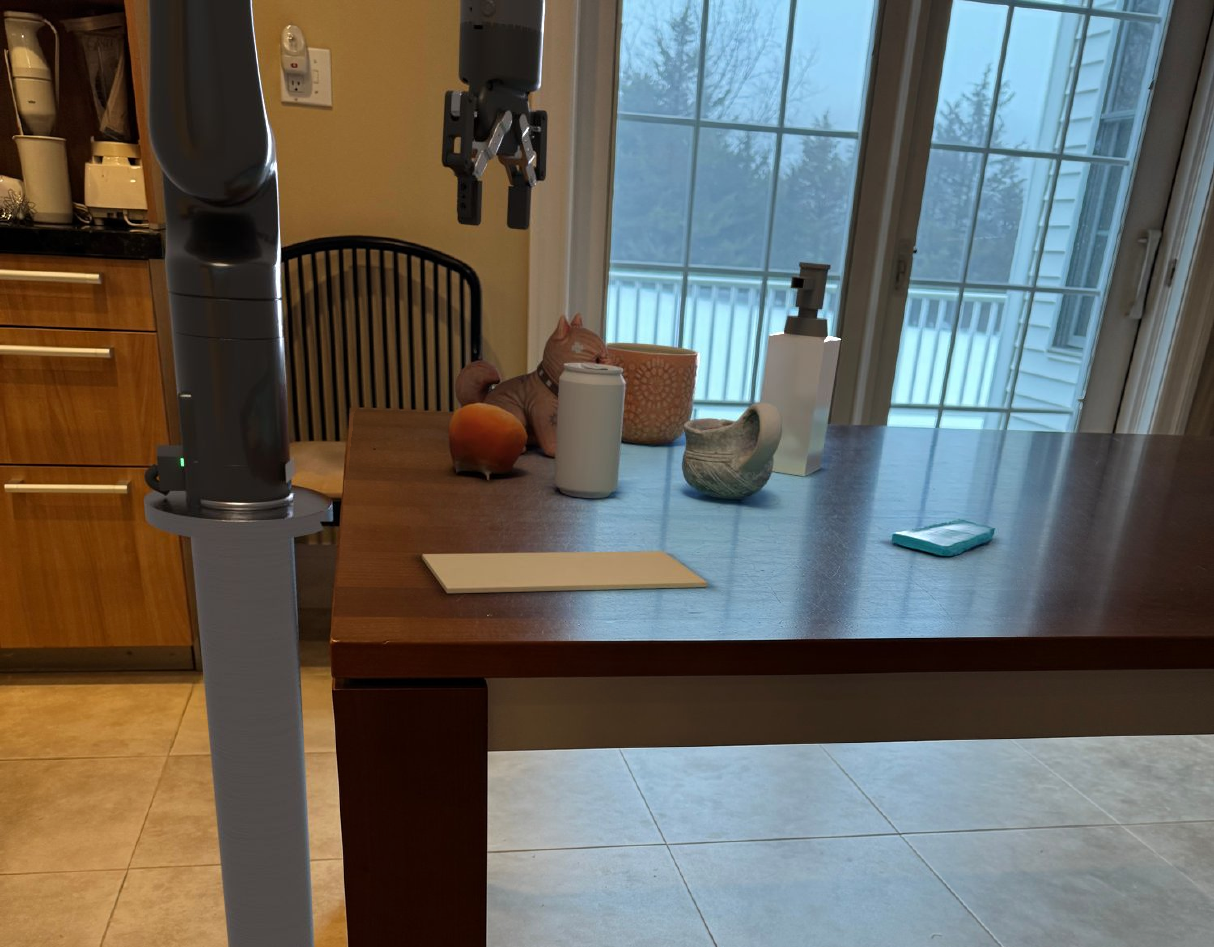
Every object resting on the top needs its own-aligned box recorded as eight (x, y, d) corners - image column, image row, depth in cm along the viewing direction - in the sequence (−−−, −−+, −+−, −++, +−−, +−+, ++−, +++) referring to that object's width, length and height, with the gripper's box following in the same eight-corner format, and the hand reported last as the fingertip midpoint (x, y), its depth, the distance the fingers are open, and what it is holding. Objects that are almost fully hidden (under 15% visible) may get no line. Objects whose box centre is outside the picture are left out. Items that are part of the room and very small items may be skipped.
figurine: (596, 466, 126) (606, 321, 119) (438, 444, 130) (439, 303, 124) (622, 453, 134) (633, 317, 128) (473, 433, 139) (476, 300, 132)
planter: (693, 437, 150) (703, 348, 145) (687, 452, 139) (697, 357, 134) (601, 428, 151) (607, 339, 146) (587, 442, 140) (593, 347, 135)
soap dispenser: (744, 470, 131) (771, 259, 121) (769, 460, 138) (796, 261, 128) (798, 479, 129) (830, 265, 119) (820, 468, 136) (852, 266, 126)
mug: (730, 484, 123) (742, 387, 118) (809, 511, 114) (826, 406, 109) (659, 489, 117) (668, 387, 113) (736, 517, 108) (750, 407, 104)
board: (446, 593, 79) (447, 588, 79) (422, 559, 87) (422, 553, 87) (706, 587, 86) (707, 582, 86) (662, 555, 93) (663, 550, 93)
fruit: (425, 462, 113) (443, 386, 114) (453, 491, 121) (471, 420, 121) (499, 472, 111) (518, 395, 112) (523, 502, 119) (541, 430, 119)
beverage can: (566, 500, 109) (574, 368, 104) (544, 485, 115) (550, 359, 109) (626, 499, 112) (637, 370, 106) (602, 485, 117) (611, 361, 111)
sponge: (1015, 534, 107) (963, 513, 110) (945, 548, 99) (891, 526, 102) (1010, 549, 107) (958, 528, 111) (939, 565, 100) (886, 542, 103)
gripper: (509, 39, 109) (501, 227, 116) (420, 8, 97) (417, 219, 105) (576, 40, 106) (564, 234, 113) (493, 9, 94) (485, 226, 102)
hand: (494, 227), depth 109 cm, fingers open, 8 cm apart
